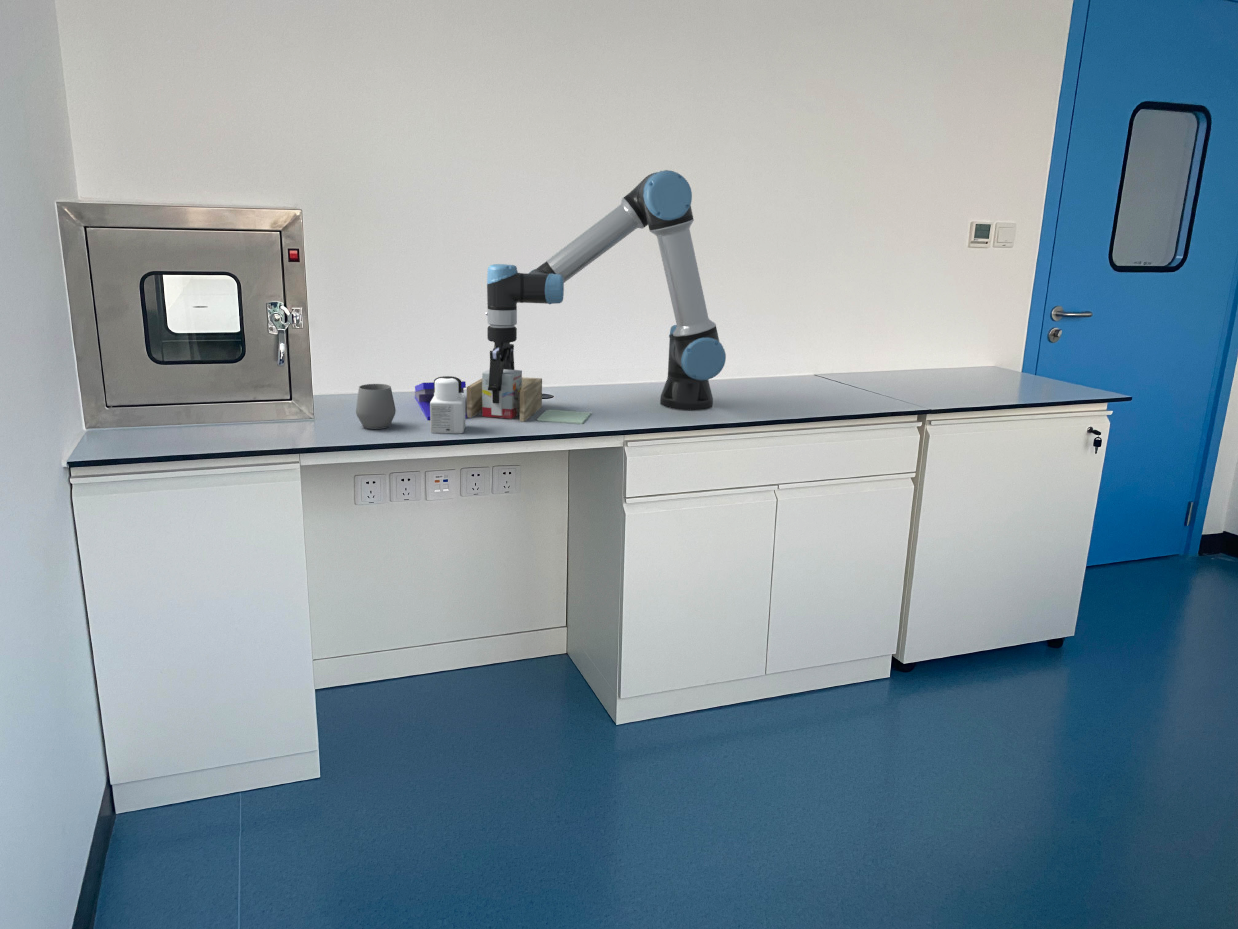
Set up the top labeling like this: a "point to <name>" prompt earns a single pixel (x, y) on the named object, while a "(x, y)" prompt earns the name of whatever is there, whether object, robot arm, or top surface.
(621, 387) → the top surface
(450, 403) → the container
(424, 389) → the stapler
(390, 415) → the cup
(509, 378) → the ink box
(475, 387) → the u-shaped enclosure
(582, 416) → the mat
